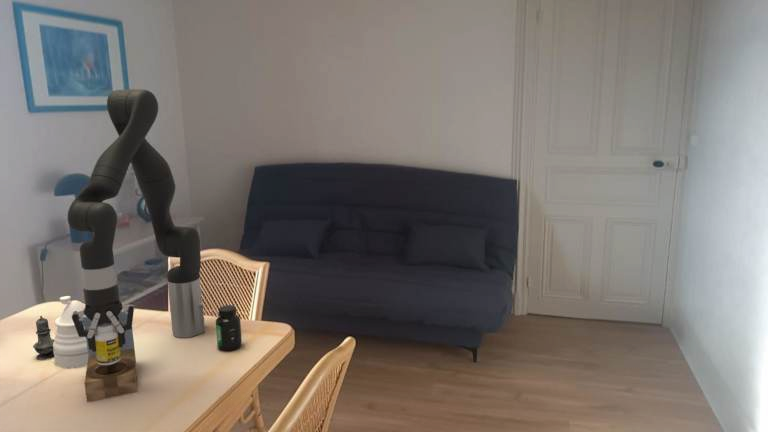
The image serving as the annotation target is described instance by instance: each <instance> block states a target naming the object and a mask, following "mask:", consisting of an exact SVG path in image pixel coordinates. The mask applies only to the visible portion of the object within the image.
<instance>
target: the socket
mask: <svg viewBox="0 0 768 432" xmlns="http://www.w3.org/2000/svg"><path fill="white" fill-rule="evenodd" d="M120 353H121V359H120V360H119V361H118V362H117V363H114V364H111V365H99V364H98V363H97V358H96V355H93V356H88V363H87V365H86V369H85V370H86V371H85V376H84V377H85V378H84V390H85V398H86V402H87V403H89V402H93V401H97V400H98V401H99V400H103V399H108V398H113V397H118V396H119V397H120V396H123V395H128V394H133V393H137V392H138V387H137V386H138V385H137V383H138V382H137V381H138V380H137V358H136V359H135V356H136V350H134V349H128V350H123V351H120Z"/></svg>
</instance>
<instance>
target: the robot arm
mask: <svg viewBox="0 0 768 432" xmlns="http://www.w3.org/2000/svg"><path fill="white" fill-rule="evenodd" d="M106 108H107V113H108V115H109V116H108V117H109V118H110V121H111V123H112V124H113V126H114V129H115V131H116V133H117V134H118V137H117V138H116V139H115V140H114V141H113V142H112V143H111V144H110V145H109V146H108V147H107V148H106V149H105V150H104V151H103V152H102V154H101V155H100V156H99V158H98V159H97V161H96V163H95V164H94V167H93V170H92V172H91V174H90V177H89V180H88V182H87V183H86V184H85V186H83V188H82V190H80V192H79V193H78V194H77V196H76V197H75V198H74V200H73V201H72V203H71V204H70V206H69V208H68V211H67V222H68V225H69V226H70V228H71V229H73V230H75V231H77V232H89V233H90V232H92V233H93V237H92V238H93V239H91V240H87V241H85V242H83V243H82V244H81V245H80V246H79V258H80V264H81V281H82V289H83V298H84V299H83V300H84V305H85V309H84V310H83V311H80V312H77V311H74V312H73V314H72V320H73V322H74V325H75V327H76V330H77V333H78V335H79V337H87V339H88V345H89V349H90V350H92V352H95V351H96V348H95V339H94V336H95V335H93V334H94V331H95V329H96V326H97V324H98V325H101V324H104V323H113V324H114V326H115V327H116V328H117V330H118V337H119V346H120V347H123V344H125V331H126V330H130V329H131V328H132V329H133V320H134V311H135V305H134V304H133V303H128V304H129V305H126V304H122V302H121V300H120V293H119V286H118V285H119V284H118V279H119V278H118V275H117V270H116V265H115V259H114V257H115V256H114V251H113V250H114V249H113V247H114V242H115V241H114V240H115V235H116V228H117V224H118V216H117V215H118V214H117V212H116V210H115V208H114V207H113V206H112V205H111V204H110V203H107V202H104V201H106V200H109V199H110V200H111V199H113V198H116V197H117V196H118V194H119V193H120V192H121V191H120V190H121V188H122V184H123V182H124V179H125V177H126V175H127V172H128V170H129V168H130V165H131V167H132V170H133V172H134V176H135V179H136V182H137V185H138V187H139V190H140V192H141V195H142V197H143V199H144V202H145V205H146V209H147V211H148V214H149V218H150V221H151V225H152V229H153V234H154V237H155V243H156V245H157V248H158V249H159V252H160V253H161V254H162V255H163V256H166V257H169V258H170V257H171V258H179V265H177V266H174V267H172V268H170V269H169V270H167V273H166V277H167V278H166V280H167V287H168V288H167V289H168V299H169V300H168V301H169V311H170V320H171V330H172V335H173V336H174V337H176V338H183V339H185V338H191V337H196V336H199V335H200V334H203V333H206V330H205V327H206V326H205V315H204V304H203V300H202V299H203V298H202V288H201V277H200V273H201V272H200V271H201V268H202V267H201V261H202V259H201V258H202V257H201V238H200V234H199V231H197V229H196V228H194V227H188V226H176V225H175V224H174V221H173V219H172V215H171V210H170V209H171V205H172V202H173V200H174V197H175V192H176V183H175V179H174V176H173V173H172V171H171V167H170V165H169V163H168V161H166V158H165V157H164V156H162V155H161V154H160V152H158V150H157V149H156V148H155V147H153V146H152V145H151V143H150V142H148V140H147V139H146V137H147V135H148V134H149V131H150V130H151V128H152V127H153V125H154V123H155V122H156V119H157V117H158V114H159V113H158V112H159V103H158V100H157V97H156V95H155V94H154V93H153V92H151V91H150V90H148V89H143V88H142V89H141V88H140V89H138V88H137V89H134V88H133V89H115V90H113V91H111V92H109V94H108V95H107V99H106ZM121 310H124V311H125V314H128V316H127V323H126V324H124V325H123V324H122V322H121V321H120V319H119V317H118V315H119V313H120V312H121ZM84 315H85V316H87V317H88V318H89V319H90V320H91V324H90V327H89V330H84V327H83V324H82V322H81V320H82V319H83V316H84Z"/></svg>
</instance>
